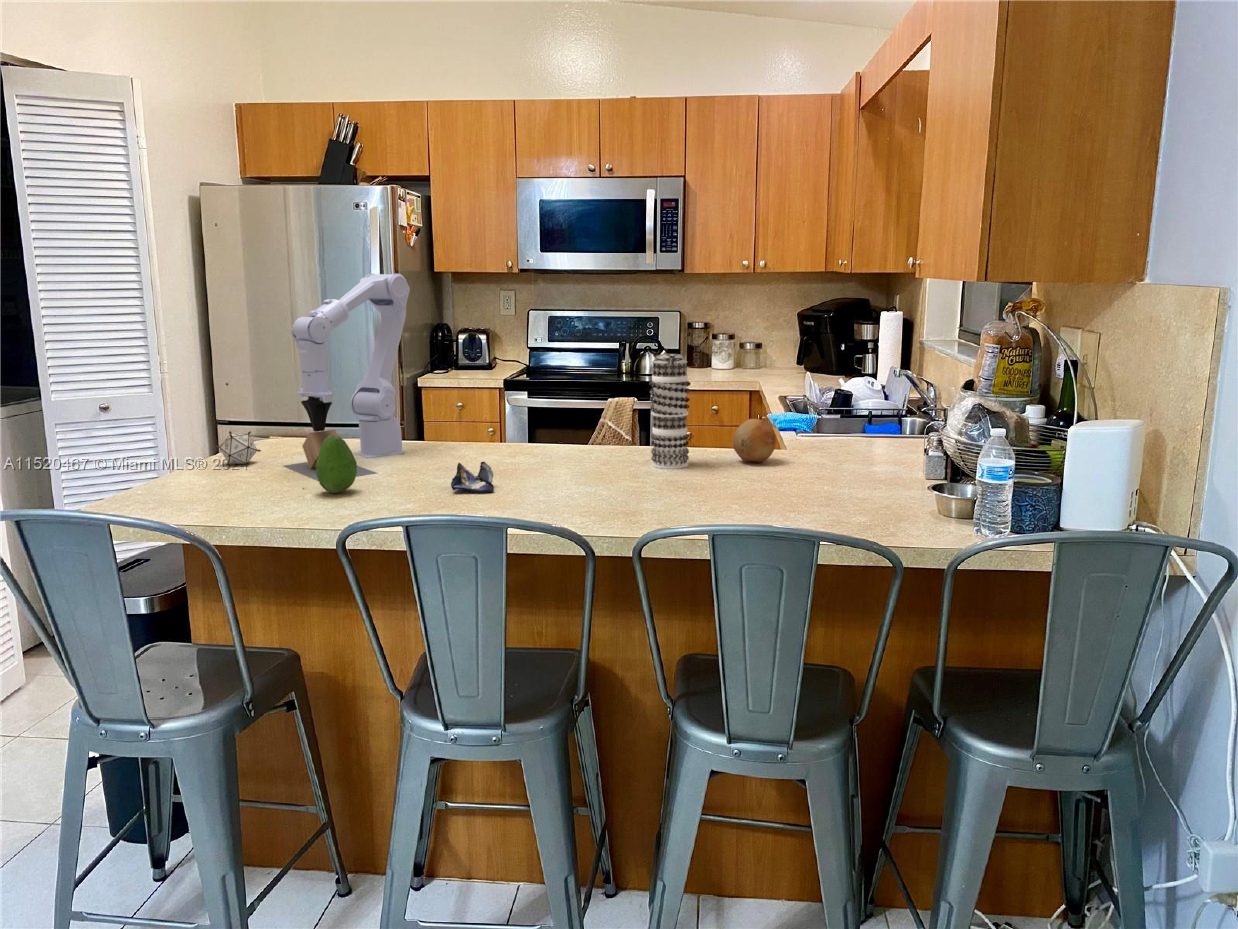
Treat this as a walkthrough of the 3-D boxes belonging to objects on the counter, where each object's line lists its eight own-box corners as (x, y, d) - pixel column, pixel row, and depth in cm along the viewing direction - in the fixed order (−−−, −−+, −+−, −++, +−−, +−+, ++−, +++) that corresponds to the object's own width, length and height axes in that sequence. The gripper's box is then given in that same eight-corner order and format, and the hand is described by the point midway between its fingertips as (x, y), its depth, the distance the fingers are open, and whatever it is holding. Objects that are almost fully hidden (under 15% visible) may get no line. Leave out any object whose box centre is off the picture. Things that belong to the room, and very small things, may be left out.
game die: (250, 479, 214) (274, 444, 215) (231, 474, 206) (256, 437, 207) (221, 459, 216) (245, 424, 217) (201, 453, 208) (226, 417, 208)
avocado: (321, 499, 179) (316, 439, 177) (314, 491, 186) (309, 433, 184) (362, 494, 183) (358, 435, 180) (354, 486, 190) (350, 430, 187)
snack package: (515, 486, 190) (469, 479, 195) (512, 457, 188) (465, 451, 193) (484, 508, 180) (436, 501, 185) (480, 478, 178) (431, 472, 183)
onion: (727, 465, 205) (728, 421, 203) (738, 456, 214) (739, 414, 212) (769, 468, 202) (770, 423, 200) (779, 459, 211) (780, 416, 209)
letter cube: (327, 442, 211) (335, 429, 206) (335, 465, 209) (343, 452, 205) (302, 446, 207) (309, 432, 203) (310, 469, 206) (317, 456, 201)
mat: (336, 459, 218) (335, 457, 218) (378, 474, 200) (378, 473, 200) (281, 467, 210) (281, 465, 209) (321, 484, 192) (321, 482, 192)
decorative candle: (669, 471, 200) (669, 357, 195) (641, 464, 207) (640, 354, 201) (698, 465, 206) (699, 354, 200) (670, 459, 213) (669, 352, 207)
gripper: (284, 370, 206) (289, 428, 209) (308, 375, 195) (314, 437, 198) (314, 367, 211) (319, 425, 213) (340, 372, 200) (345, 433, 203)
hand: (319, 430), depth 206 cm, fingers closed
